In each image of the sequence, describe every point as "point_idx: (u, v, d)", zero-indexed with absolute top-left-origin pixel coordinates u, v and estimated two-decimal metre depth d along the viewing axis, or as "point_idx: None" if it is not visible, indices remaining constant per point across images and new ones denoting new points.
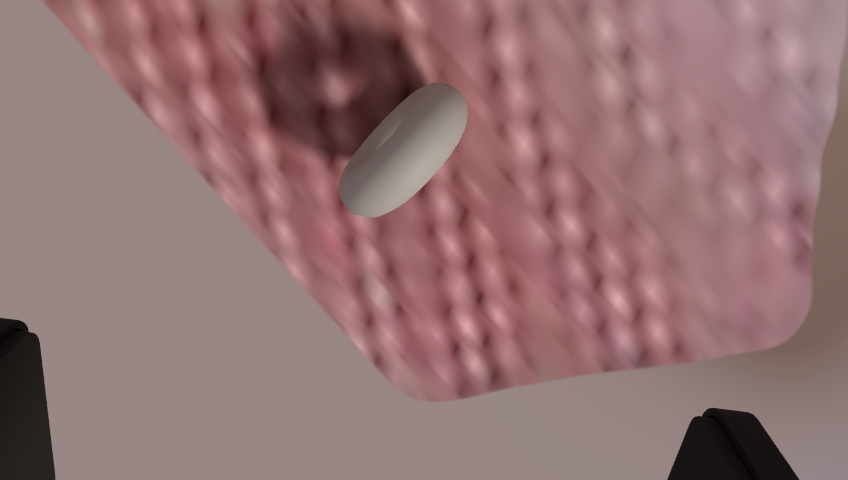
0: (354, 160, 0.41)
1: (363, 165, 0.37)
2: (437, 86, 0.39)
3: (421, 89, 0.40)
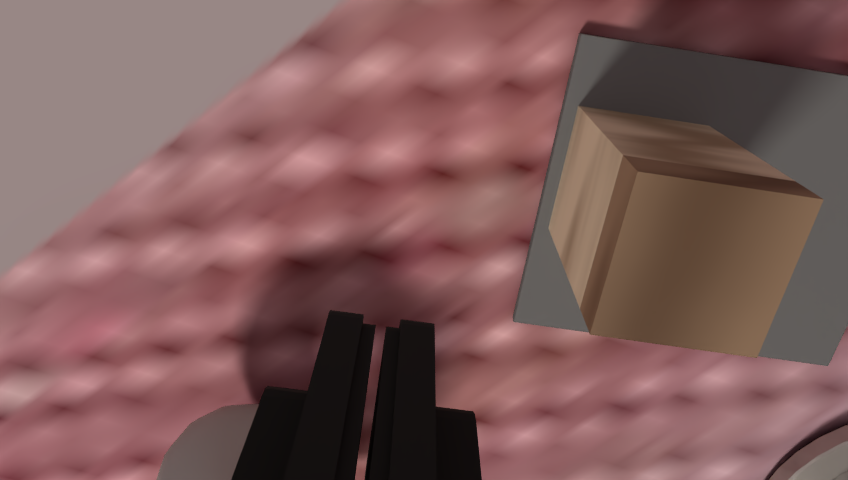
0: None
1: None
2: None
3: None
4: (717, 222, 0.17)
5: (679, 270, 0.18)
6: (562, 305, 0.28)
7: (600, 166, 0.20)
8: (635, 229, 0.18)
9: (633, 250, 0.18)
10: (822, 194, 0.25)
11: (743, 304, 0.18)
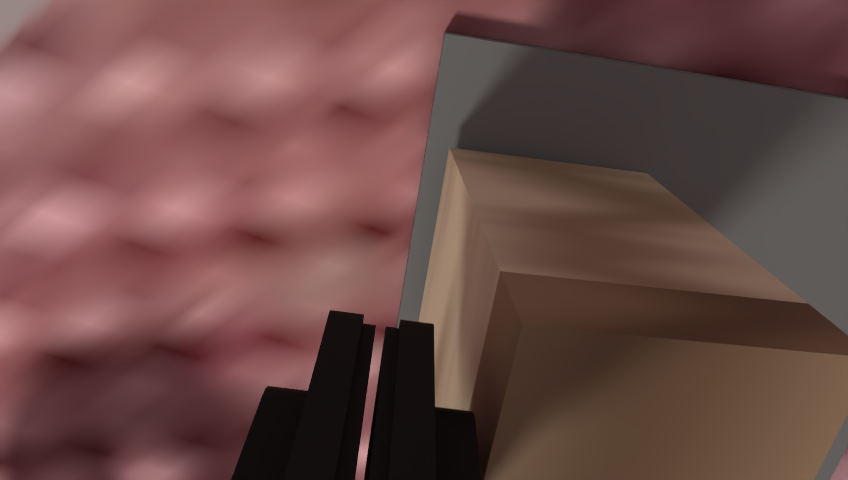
0: None
1: None
2: None
3: None
4: (681, 406, 0.09)
5: None
6: None
7: (471, 270, 0.12)
8: (525, 427, 0.09)
9: (523, 462, 0.09)
10: (815, 272, 0.17)
11: None
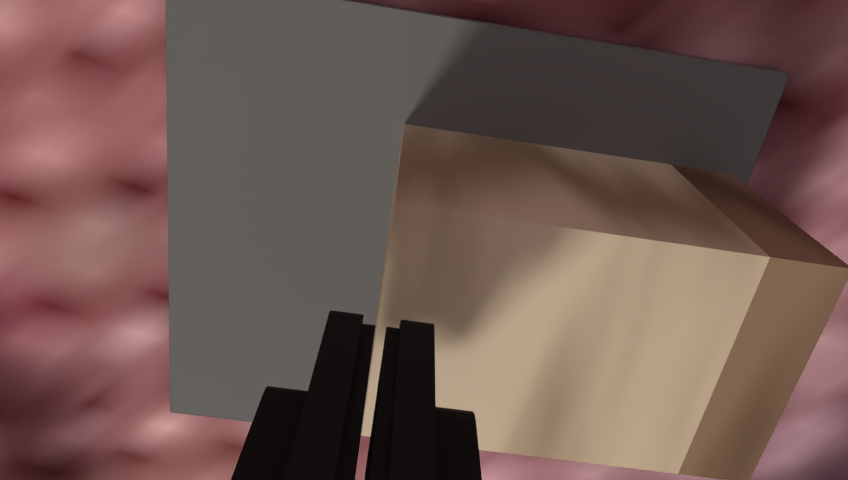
0: None
1: None
2: None
3: None
4: None
5: None
6: (236, 390, 0.19)
7: (653, 288, 0.11)
8: None
9: None
10: None
11: None
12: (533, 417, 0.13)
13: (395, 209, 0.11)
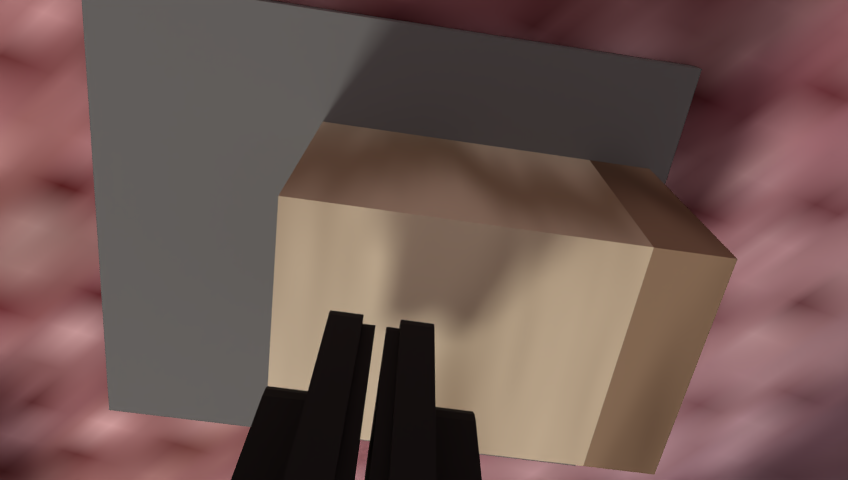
0: None
1: None
2: None
3: None
4: None
5: None
6: (173, 387, 0.19)
7: (540, 279, 0.12)
8: None
9: None
10: None
11: None
12: None
13: (279, 202, 0.11)
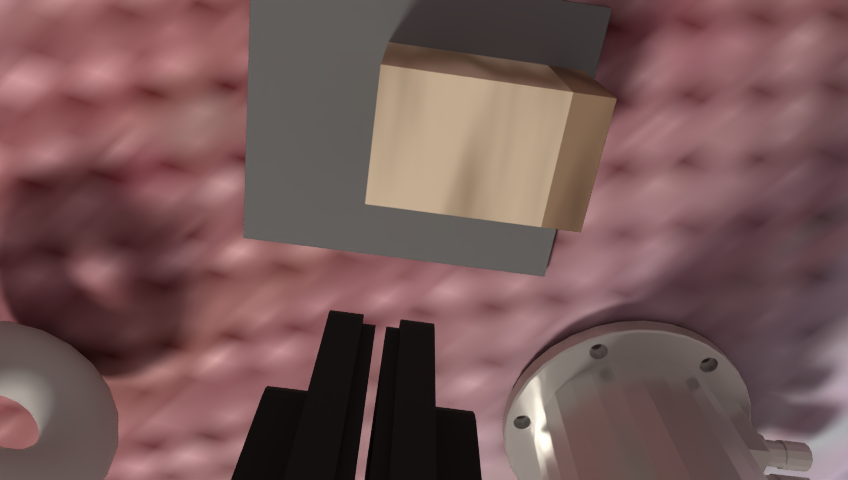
0: None
1: None
2: (102, 462, 0.29)
3: (100, 427, 0.30)
4: None
5: None
6: (285, 221, 0.29)
7: (515, 111, 0.22)
8: None
9: None
10: None
11: None
12: (458, 191, 0.23)
13: (380, 68, 0.21)
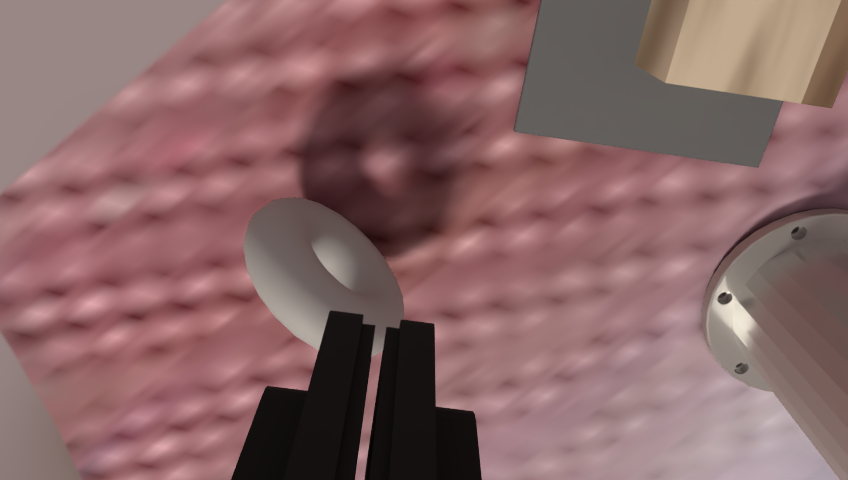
0: (309, 218, 0.34)
1: (316, 269, 0.31)
2: (403, 313, 0.35)
3: (396, 287, 0.36)
4: None
5: None
6: (552, 117, 0.36)
7: (797, 5, 0.28)
8: None
9: None
10: None
11: None
12: (740, 72, 0.30)
13: None
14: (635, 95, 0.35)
